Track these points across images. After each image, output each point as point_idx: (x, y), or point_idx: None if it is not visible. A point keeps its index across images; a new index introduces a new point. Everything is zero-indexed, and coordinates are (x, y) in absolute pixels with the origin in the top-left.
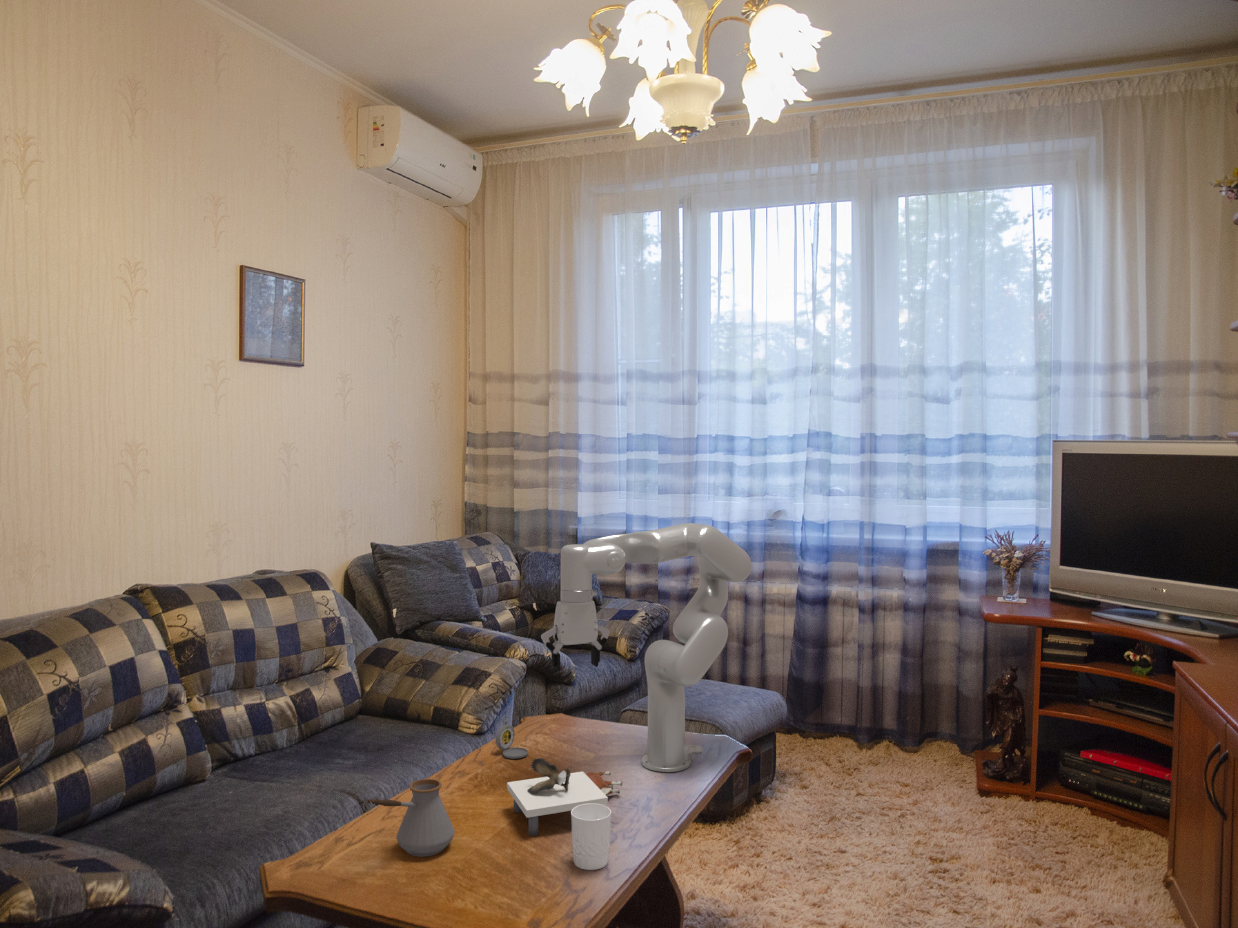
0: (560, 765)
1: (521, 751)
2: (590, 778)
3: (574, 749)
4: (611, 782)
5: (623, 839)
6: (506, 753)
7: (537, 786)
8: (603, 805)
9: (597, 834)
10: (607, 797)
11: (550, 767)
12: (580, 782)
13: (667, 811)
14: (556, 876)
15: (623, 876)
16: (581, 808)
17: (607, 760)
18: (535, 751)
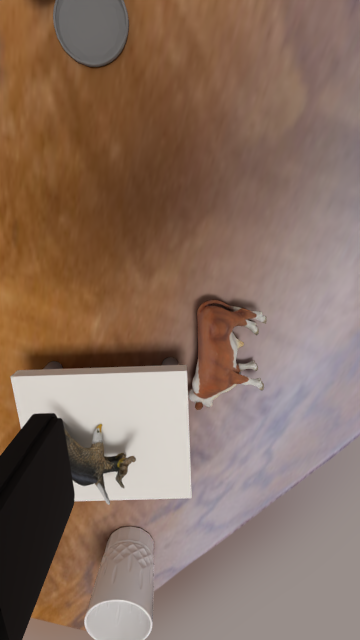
0: (193, 156)
1: (113, 3)
2: (206, 354)
3: (267, 36)
4: (242, 382)
5: (196, 505)
6: (68, 6)
7: None
8: (145, 612)
9: (124, 617)
10: (190, 497)
11: (79, 478)
12: (163, 423)
13: (304, 447)
14: (78, 560)
15: (160, 581)
16: (110, 595)
17: (316, 162)
18: (155, 11)
